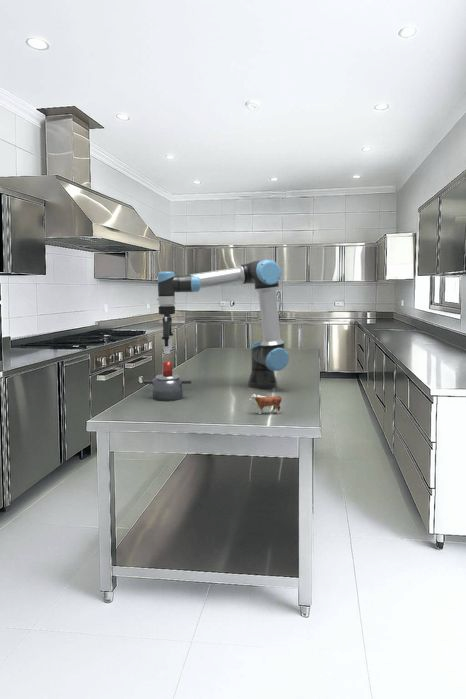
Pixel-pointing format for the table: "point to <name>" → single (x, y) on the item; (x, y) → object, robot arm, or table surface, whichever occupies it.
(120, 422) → the table surface
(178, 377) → the lid
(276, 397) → the bull figurine
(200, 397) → the table surface
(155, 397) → the pot
